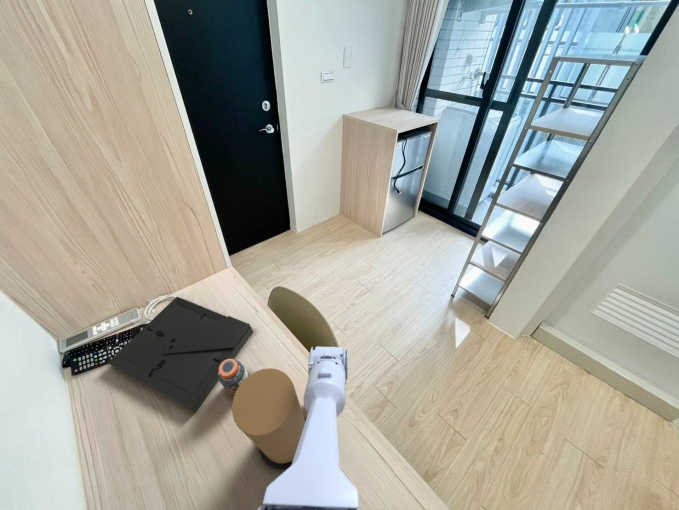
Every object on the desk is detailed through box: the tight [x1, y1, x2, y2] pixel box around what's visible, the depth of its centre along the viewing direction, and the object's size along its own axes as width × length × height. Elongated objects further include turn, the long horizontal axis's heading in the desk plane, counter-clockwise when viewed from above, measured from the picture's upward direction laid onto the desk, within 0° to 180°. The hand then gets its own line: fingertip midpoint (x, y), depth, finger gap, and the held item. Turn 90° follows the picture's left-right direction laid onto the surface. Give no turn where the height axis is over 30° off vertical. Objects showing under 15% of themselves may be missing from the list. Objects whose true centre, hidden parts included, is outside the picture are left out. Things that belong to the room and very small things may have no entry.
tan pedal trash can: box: [231, 367, 308, 463], centre depth 53 cm, size 10×16×24 cm, turn 130°
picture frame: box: [107, 296, 254, 413], centre depth 75 cm, size 23×4×28 cm
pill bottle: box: [218, 359, 250, 398], centre depth 65 cm, size 6×6×11 cm
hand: (331, 407), depth 61 cm, fingers closed
